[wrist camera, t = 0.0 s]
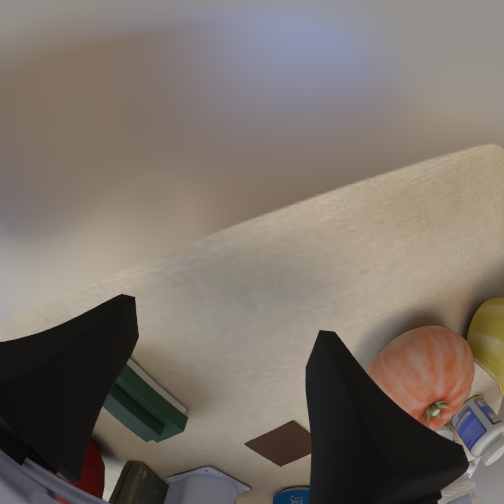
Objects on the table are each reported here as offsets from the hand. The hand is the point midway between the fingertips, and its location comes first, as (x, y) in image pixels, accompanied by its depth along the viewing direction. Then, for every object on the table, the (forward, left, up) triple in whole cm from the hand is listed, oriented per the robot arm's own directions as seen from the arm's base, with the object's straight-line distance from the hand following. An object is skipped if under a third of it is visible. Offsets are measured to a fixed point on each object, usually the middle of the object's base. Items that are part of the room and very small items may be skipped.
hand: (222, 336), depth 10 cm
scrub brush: (-16, -3, -11) cm, 20 cm away
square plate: (-10, -18, -11) cm, 24 cm away
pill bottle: (+9, -34, -11) cm, 37 cm away
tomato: (+5, -17, -11) cm, 20 cm away
